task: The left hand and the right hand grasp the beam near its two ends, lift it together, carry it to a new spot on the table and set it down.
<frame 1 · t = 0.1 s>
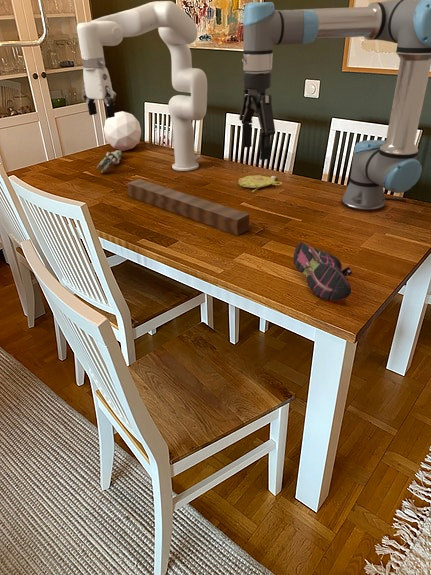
left hand: (102, 115, 162), 31 cm above the table, tool pointing down, fingers open, 9 cm apart
right hand: (255, 152, 128), 28 cm above the table, tool pointing down, fingers open, 13 cm apart
decorative object: (259, 184, 186), on the table
sphere: (125, 149, 238), on the table
beam: (183, 211, 164), on the table
athletic shoe: (325, 283, 119), on the table
figurine: (111, 165, 215), on the table
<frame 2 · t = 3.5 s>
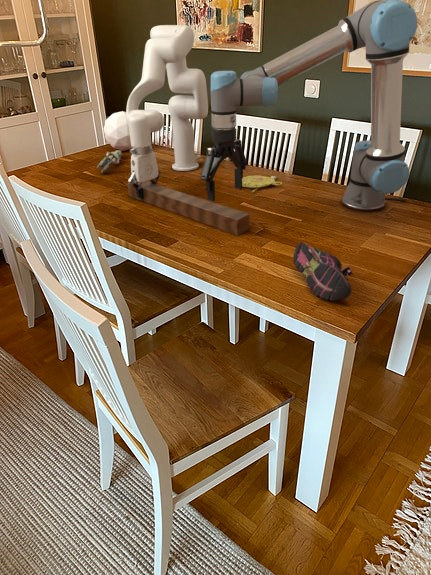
left hand: (147, 195, 175), 1 cm above the table, tool pointing down, fingers closed on beam, 6 cm apart
right hand: (225, 194, 146), 12 cm above the table, tool pointing down, fingers open, 13 cm apart
beam: (183, 211, 164), on the table, touching left hand
everything else where it was.
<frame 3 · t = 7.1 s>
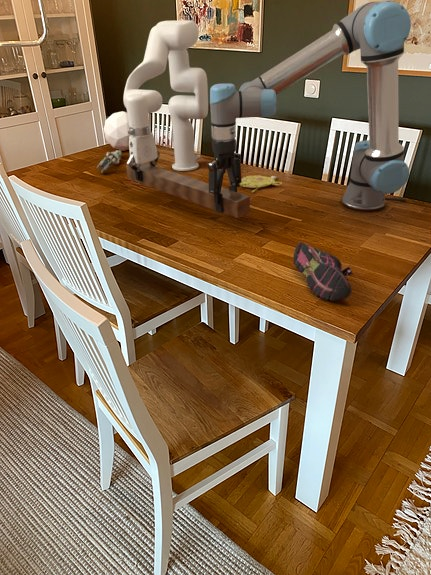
left hand: (146, 177, 172), 8 cm above the table, tool pointing down, fingers closed on beam, 6 cm apart
right hand: (226, 208, 149), 6 cm above the table, tool pointing down, fingers closed on beam, 6 cm apart
beam: (183, 194, 161), point 6 cm above the table, touching left hand, right hand
everything else where it was.
when the right hand's fingers open (0 cm above the table, at t = 11.3 s): beam stays where it is, on the table.
when the left hand's fingers open (3 cm above the table, at t = 11.4 s): beam stays where it is, on the table.
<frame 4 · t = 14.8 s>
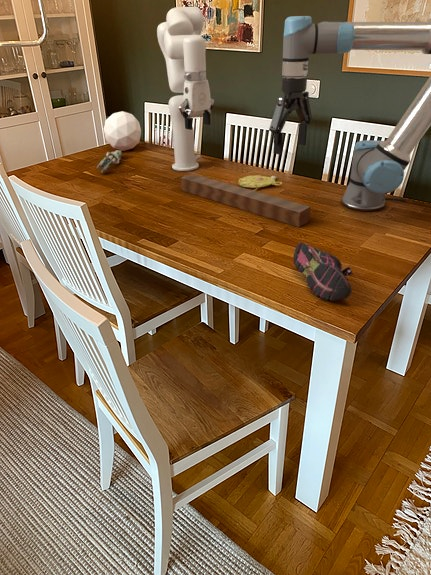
left hand: (197, 126, 166), 26 cm above the table, tool pointing down, fingers open, 9 cm apart
right hand: (289, 149, 143), 24 cm above the table, tool pointing down, fingers open, 13 cm apart
beam: (239, 204, 168), on the table
everything else where it was.
at the end: beam inside the target area (0.4 cm from its centre), on the table; beam tilted 0°; beam never tilted more than 2° during the clip; both hands held the beam at the same time; the left hand is holding nothing; the right hand is holding nothing; beam at rest at the end (0.0 cm/s) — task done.
